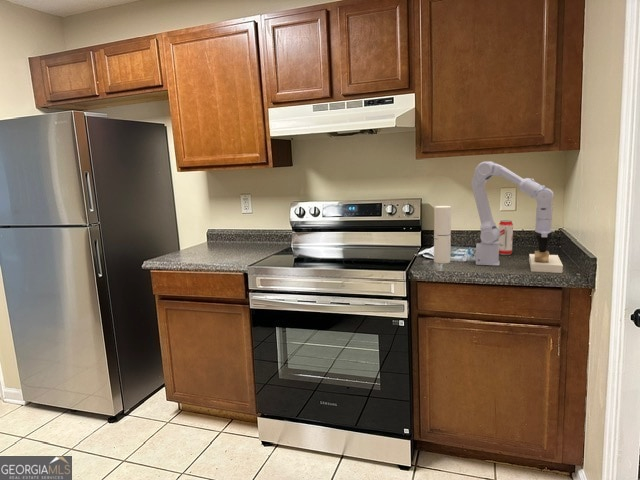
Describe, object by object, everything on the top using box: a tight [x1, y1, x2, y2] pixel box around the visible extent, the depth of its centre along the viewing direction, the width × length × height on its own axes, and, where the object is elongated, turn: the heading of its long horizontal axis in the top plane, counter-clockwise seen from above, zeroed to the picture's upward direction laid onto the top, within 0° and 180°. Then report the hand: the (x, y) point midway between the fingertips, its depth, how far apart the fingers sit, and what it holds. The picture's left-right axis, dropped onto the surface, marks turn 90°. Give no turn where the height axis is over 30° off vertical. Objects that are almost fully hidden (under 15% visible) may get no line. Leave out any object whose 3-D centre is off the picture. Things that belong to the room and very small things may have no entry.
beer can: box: [498, 219, 514, 256], centre depth 205 cm, size 6×6×16 cm
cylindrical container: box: [433, 205, 452, 264], centre depth 193 cm, size 7×7×25 cm
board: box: [528, 253, 564, 274], centre depth 180 cm, size 11×20×3 cm, turn 157°
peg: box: [534, 249, 550, 263], centre depth 177 cm, size 5×5×7 cm
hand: (542, 251), depth 176 cm, fingers closed, pressing on peg
